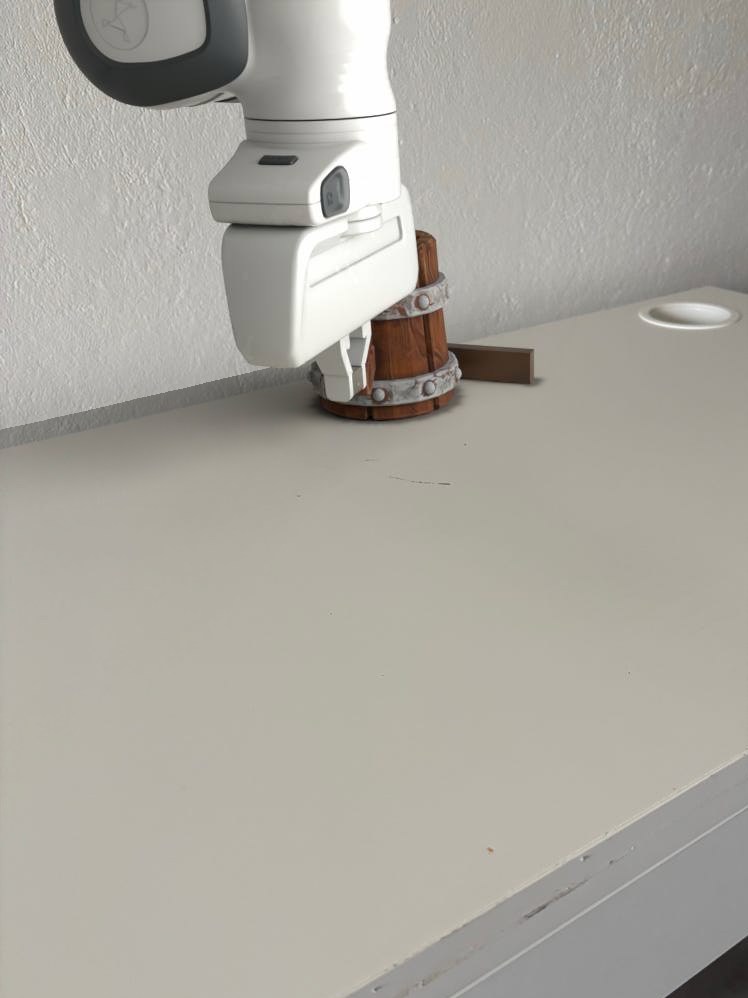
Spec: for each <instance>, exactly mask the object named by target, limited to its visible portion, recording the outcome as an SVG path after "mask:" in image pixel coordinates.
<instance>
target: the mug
mask: <svg viewBox="0 0 748 998" xmlns="http://www.w3.org/2000/svg"><path fill="white" fill-rule="evenodd" d="M415 235H416V245H417V255H418V268H419V271H418V279H417V284H416V288H415V290H414V291H412V292H411V293H410V294H409V295H407V296H406V297H404V298H403V299H401V300H400V301H398V302H397V303H395V304H394V305H392V306H391V307H389V308H388V309H386V310H385V311H383V312H382V313H380V314H379V315H377V316H376V317H374V318H373V319H371V320H370V322H371V339H370V344H369V349H368V354H367V359H366V363H365V370H366V383H367V385H366V387H365V388H364V389H363V390H362V391H360V392H359V393H358V394H357V395H355V396H354V397H353V398H352V399H350V400H349V401H347V402H340V401H331V400H330V399H328V398H327V396H326V391H325V382H324V374H323V373H322V372H321V370H320V368H319V366H318V364H317V362H316V360H315V359H314V361H313V362H312V363H311V365H310V370H309V371H308V372H306V379H307V382H309V383H310V384H311V389H312V391H313V392H314V393H315V394H317V395H318V399H319V404H320V405H321V407H323V408H324V409H325V410H327V411H328V412H330V413H331V414H333V415H336V416H339V417H344V418H347V419H355V420H365V421H366V420H367V419H368V418H369V417H370V416H372V418H373V420H374V421H389V420H390V421H391V420H399V419H400V420H401V419H407V418H413V417H419V416H422V415H426V414H429V413H432V412H433V411H434V410H435V409H436V410H440V409H441V408H443V407H445V406H446V405H449V404H450V402H451V401H452V400H453V397H454V396H455V394H456V393H455V388H456V386H457V384H458V382H459V381H460V379H461V378H460V377H461V374H462V373H461V370H460V369H459V367H458V361H457V359H456V357H455V355H454V354H453V353H452V352H450V351H448V348H447V343H448V340H447V331H446V325H445V315H444V308H445V306H446V305H447V304H448V302H449V301H450V300H451V296H452V295H453V288H452V286H451V285H450V284H449V279H448V277H447V276H446V275H445V274H444V273H443V272H441V271H440V270H439V269H440V268H439V259H438V247H437V239H436V238H435V236H433V235H432V234H431V233H429V232H428V231H425V230H419V229H415Z"/></svg>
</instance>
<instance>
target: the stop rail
mask: <svg viewBox="0 0 748 998" xmlns="http://www.w3.org/2000/svg"><path fill="white" fill-rule="evenodd" d="M447 348H448V351H450V352H452V353H453V354H454V355H455V357H456V359H457V361H458V367H459V369H460V370H461V373H462V374H461V377H460V379H464V380H477V381H489V382H499V383H500V382H502V383H513V384H526V385H530V384H531V383H532V382H533V381H534V380H535V348H527V347H511V346H496V345H483V344H469V343H468V344H466V343H452V342H447Z"/></svg>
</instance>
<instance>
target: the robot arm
mask: <svg viewBox="0 0 748 998" xmlns="http://www.w3.org/2000/svg"><path fill="white" fill-rule="evenodd" d="M52 2H53V3H52V4H53V9H54V16H55V20H56V24H57V28H58V31H59V33H60V36H61V38H62V41H63V44H64V46H65V48H66V50H67V52H68V53H69V55H70V57H71V59H72V61H73V63H75V65H76V66H77V68H78V69H79V71H80V72H81V73H82V75H84V77H85V78H86V79H87V80H88V81H89V83H91V84H92V85H93V86H94V87H95V88H97V89H98V90H99V91H100V92H102V93H103V94H104V95H106V96H108V97H109V98H110V99H112V100H115V101H117V102H119V103H122V104H124V105H128V106H131V107H137V108H141V109H145V110H154V111H168V110H169V111H170V110H174V109H181V108H192V107H193V108H194V107H197V106H203V105H207V104H211V103H223V104H240V105H241V108H242V115H243V123H244V130H245V138H246V139H243V140H242V141H240V143H239V144H238V146H237V149H236V150H235V152H234V153H233V155H232V156H231V158H229V160H228V162H227V163H225V165H224V166H223V167H222V168H221V169H220V170H219V171H218V172H217V173H216V175H214V177H213V178H212V179H211V181H210V182H209V184H208V187H207V198H208V206H209V210H210V214H211V217H212V219H213V221H215V222H216V223H220V224H229V225H228V226H227V227H226V229H225V231H224V232H223V236H222V239H221V248H220V250H221V251H220V254H221V255H220V258H221V269H222V276H223V284H224V291H225V297H226V303H227V304H226V305H227V309H228V314H229V320H230V325H231V330H232V331H231V332H232V335H233V339H234V343H235V345H236V347H237V350H238V351H239V353H240V354H241V356H242V357H243V358H244V360H245V361H246V362H247V364H249V365H251V366H256V367H266V368H279V369H297V368H300V367H302V366H303V365H305V364H306V363H307V362H309V361H310V360H312V359H314V361H315V360H316V362H317V364H318V366H319V368H320V370H321V372H322V373H323V374H324V382H325V391H326V396H327V398H328V399H330V400H331V401H340V402H347V401H349V400H350V399H352V398H353V397H354V396H355V395H357V394H358V393H359V392H360V391H362V390H363V389H364V388H365V387H366V385H367V383H366V370H365V363H366V359H367V354H368V349H369V344H370V339H371V322H370V320H371V319H373V318H374V317H376V316H377V315H379V314H380V313H382V312H383V311H385V310H386V309H388V308H389V307H391V306H392V305H394V304H395V303H397V302H398V301H400V300H401V299H403V298H404V297H406V296H407V295H409V294H410V293H411V292H412V291H414V290H415V288H416V284H417V279H418V271H419V268H418V255H417V245H416V235H415V230H416V228H415V219H414V212H413V205H412V201H411V196H410V192H409V190H408V188H407V187H406V185H405V184H404V183H402V179H401V163H400V161H401V160H400V146H399V129H398V113H397V102H396V98H395V93H394V92H393V91H394V90H393V88H392V85H391V81H390V78H389V72H388V60H387V59H388V46H389V41H390V36H391V29H392V11H391V0H52Z"/></svg>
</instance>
